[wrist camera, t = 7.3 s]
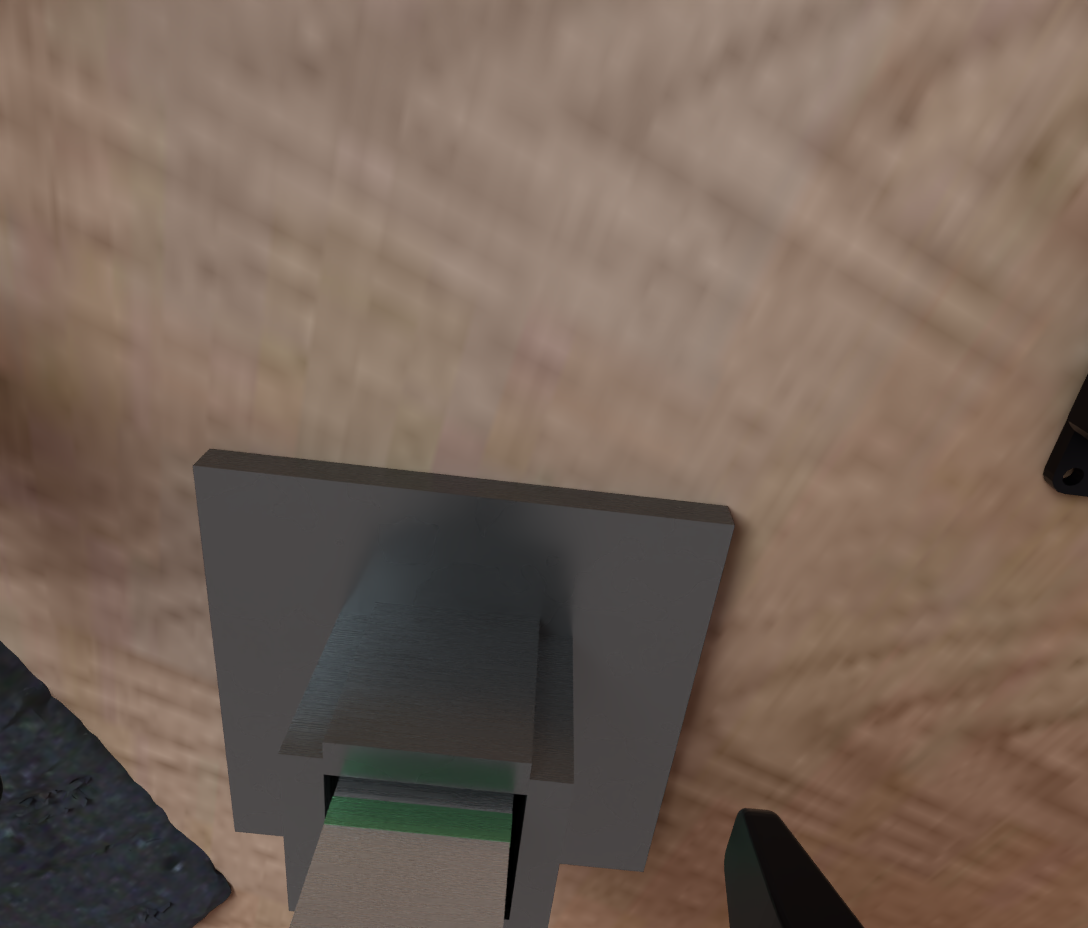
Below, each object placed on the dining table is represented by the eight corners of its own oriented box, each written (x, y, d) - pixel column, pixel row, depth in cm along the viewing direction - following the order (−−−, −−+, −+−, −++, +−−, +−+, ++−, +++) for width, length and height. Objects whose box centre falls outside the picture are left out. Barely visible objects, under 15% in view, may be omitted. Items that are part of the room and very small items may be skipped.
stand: (727, 505, 20) (785, 656, 15) (640, 845, 26) (659, 1037, 21) (209, 449, 20) (75, 580, 14) (246, 806, 26) (162, 990, 21)
